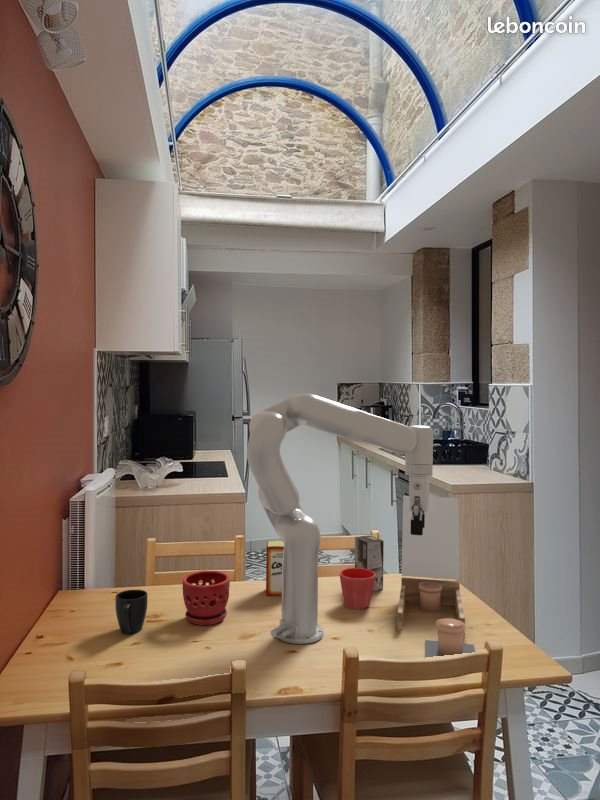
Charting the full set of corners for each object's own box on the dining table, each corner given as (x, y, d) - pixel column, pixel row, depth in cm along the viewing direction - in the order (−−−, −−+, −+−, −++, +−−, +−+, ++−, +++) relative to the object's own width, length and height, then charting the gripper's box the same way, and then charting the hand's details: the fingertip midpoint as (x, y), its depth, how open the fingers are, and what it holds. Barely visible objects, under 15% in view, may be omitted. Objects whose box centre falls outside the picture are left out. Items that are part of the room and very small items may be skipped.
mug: (107, 642, 147) (107, 604, 147) (119, 624, 159) (120, 589, 159) (139, 642, 147) (140, 604, 147) (150, 623, 159) (150, 589, 159)
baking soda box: (295, 589, 189) (296, 540, 189) (295, 596, 183) (296, 545, 183) (266, 589, 189) (267, 540, 189) (265, 596, 183) (266, 545, 183)
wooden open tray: (464, 637, 152) (464, 610, 152) (397, 631, 155) (397, 605, 155) (459, 604, 176) (459, 581, 176) (401, 599, 180) (401, 577, 180)
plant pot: (176, 615, 165) (177, 573, 165) (220, 608, 171) (220, 568, 171) (189, 632, 154) (190, 587, 154) (236, 623, 160) (236, 580, 160)
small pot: (458, 660, 137) (458, 631, 137) (431, 653, 141) (431, 624, 141) (468, 651, 142) (469, 622, 142) (442, 643, 147) (443, 616, 147)
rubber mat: (478, 667, 135) (478, 665, 135) (425, 661, 137) (425, 660, 137) (473, 646, 146) (473, 644, 146) (425, 641, 149) (425, 640, 149)
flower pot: (377, 611, 170) (377, 578, 170) (340, 610, 170) (340, 577, 170) (373, 599, 181) (373, 568, 181) (338, 598, 181) (338, 567, 181)
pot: (435, 614, 168) (436, 590, 168) (414, 609, 172) (414, 585, 172) (445, 608, 173) (445, 584, 173) (424, 603, 177) (424, 580, 177)
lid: (458, 498, 184) (458, 498, 186) (403, 495, 188) (403, 496, 190) (459, 579, 177) (458, 579, 178) (401, 575, 180) (401, 575, 182)
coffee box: (384, 589, 190) (384, 540, 190) (366, 592, 187) (367, 542, 187) (370, 581, 198) (371, 534, 198) (353, 583, 196) (354, 536, 196)
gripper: (431, 474, 152) (430, 539, 152) (433, 467, 169) (432, 525, 169) (402, 472, 154) (401, 536, 154) (407, 466, 171) (406, 524, 171)
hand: (417, 531), depth 161 cm, fingers open, 9 cm apart
